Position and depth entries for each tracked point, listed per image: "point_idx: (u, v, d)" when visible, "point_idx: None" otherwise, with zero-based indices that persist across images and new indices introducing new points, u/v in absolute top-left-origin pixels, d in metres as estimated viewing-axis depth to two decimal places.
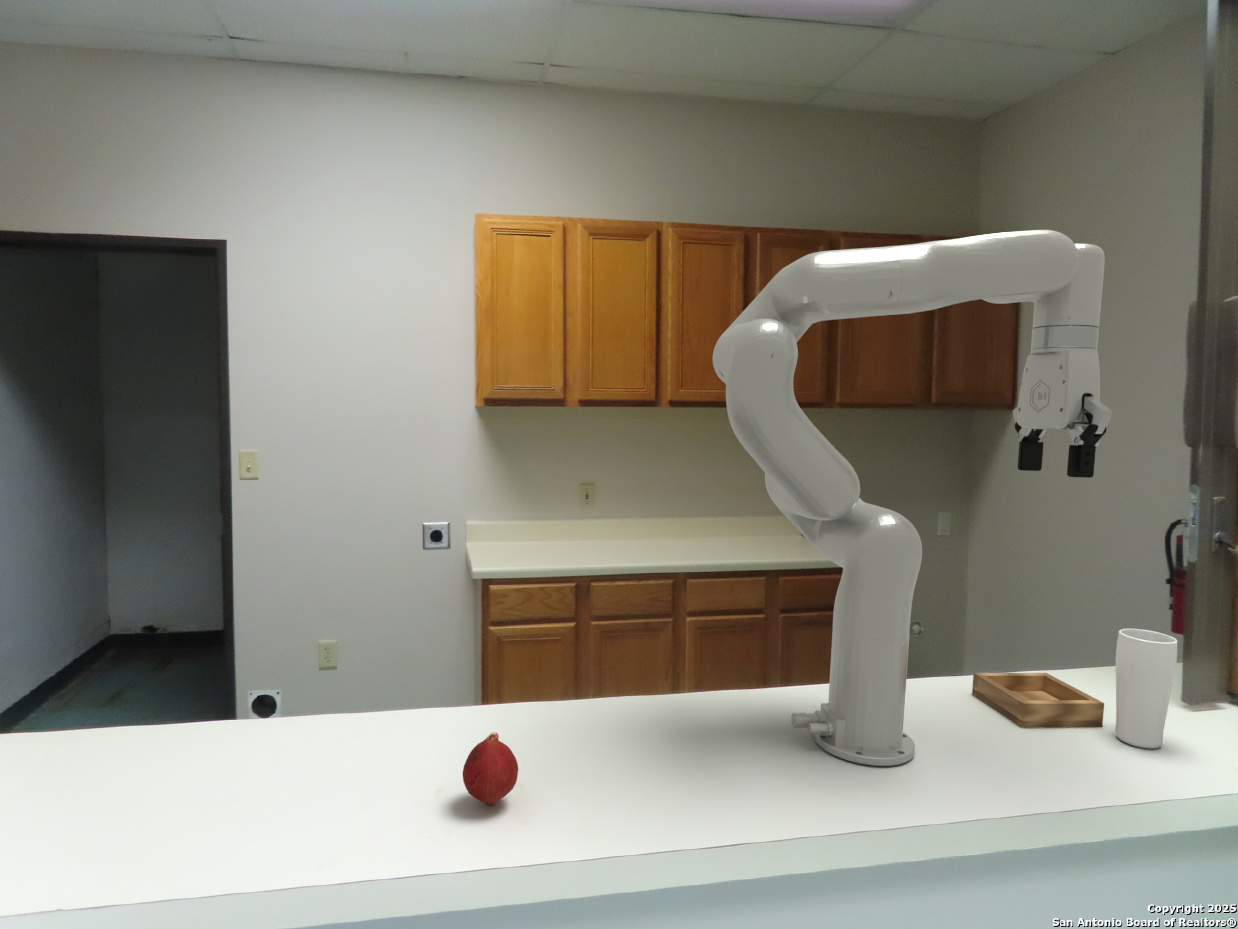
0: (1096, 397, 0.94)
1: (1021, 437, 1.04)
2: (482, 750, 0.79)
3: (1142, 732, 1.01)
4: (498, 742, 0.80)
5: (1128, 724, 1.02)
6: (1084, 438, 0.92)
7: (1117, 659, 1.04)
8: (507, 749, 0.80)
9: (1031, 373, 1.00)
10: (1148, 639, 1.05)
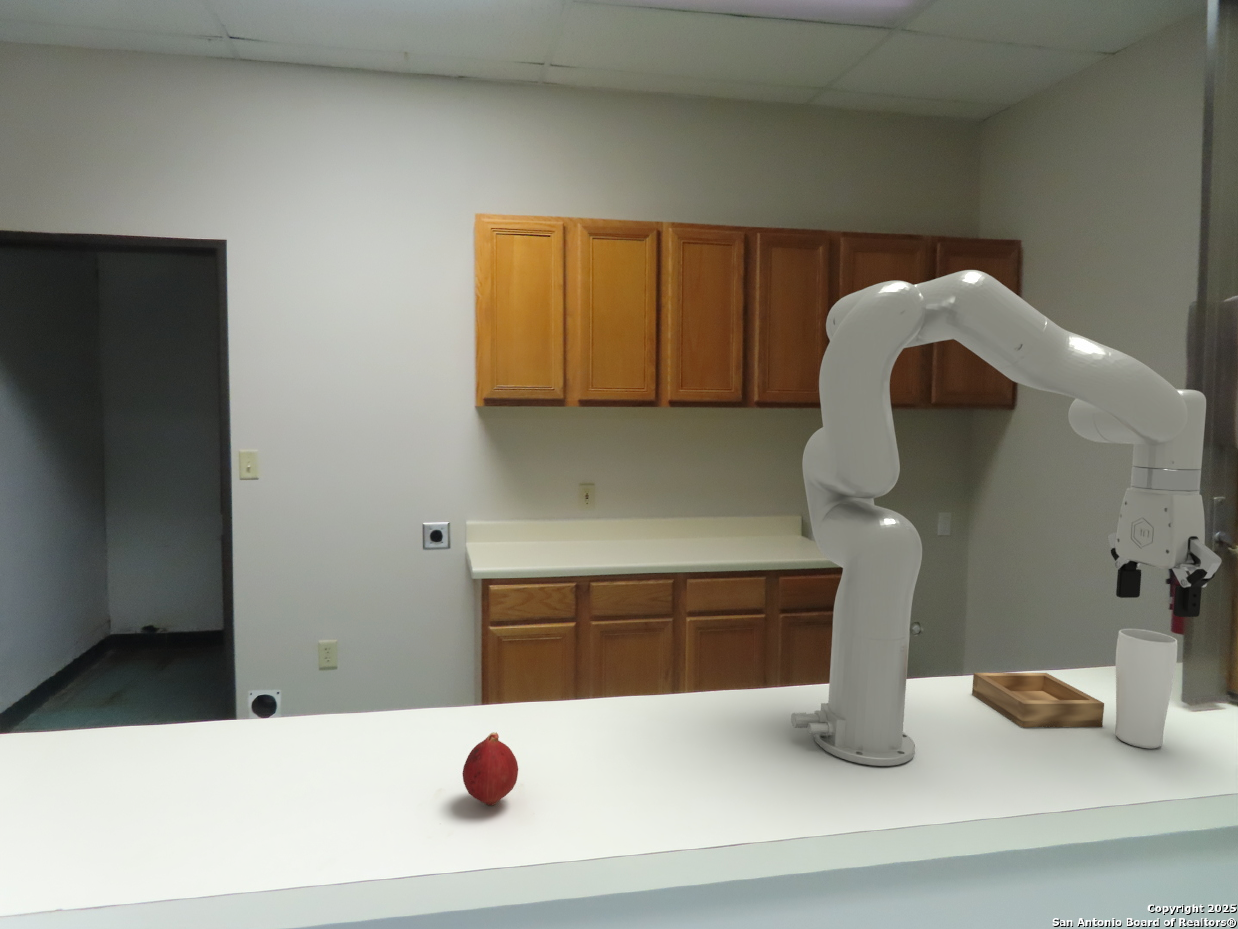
0: (1201, 539, 0.97)
1: (1119, 565, 1.07)
2: (482, 750, 0.79)
3: (1142, 732, 1.01)
4: (498, 742, 0.80)
5: (1128, 724, 1.02)
6: (1192, 581, 0.96)
7: (1117, 659, 1.04)
8: (507, 749, 0.80)
9: (1131, 508, 1.03)
10: (1148, 639, 1.05)
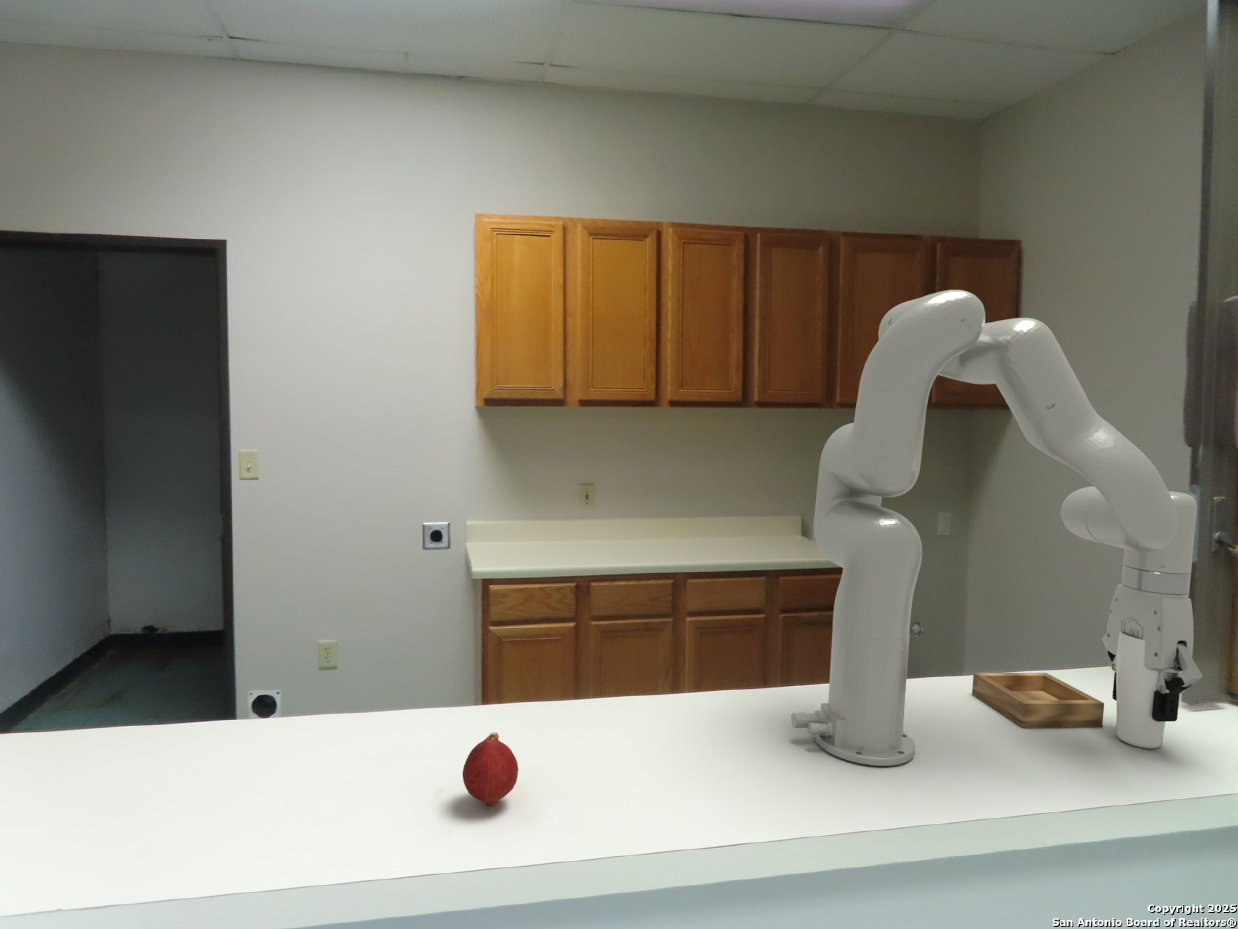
0: (1190, 644, 0.98)
1: None
2: (482, 750, 0.79)
3: (1142, 732, 1.01)
4: (498, 742, 0.80)
5: (1128, 724, 1.02)
6: (1170, 688, 0.98)
7: (1117, 659, 1.03)
8: (507, 749, 0.80)
9: (1122, 606, 1.04)
10: None
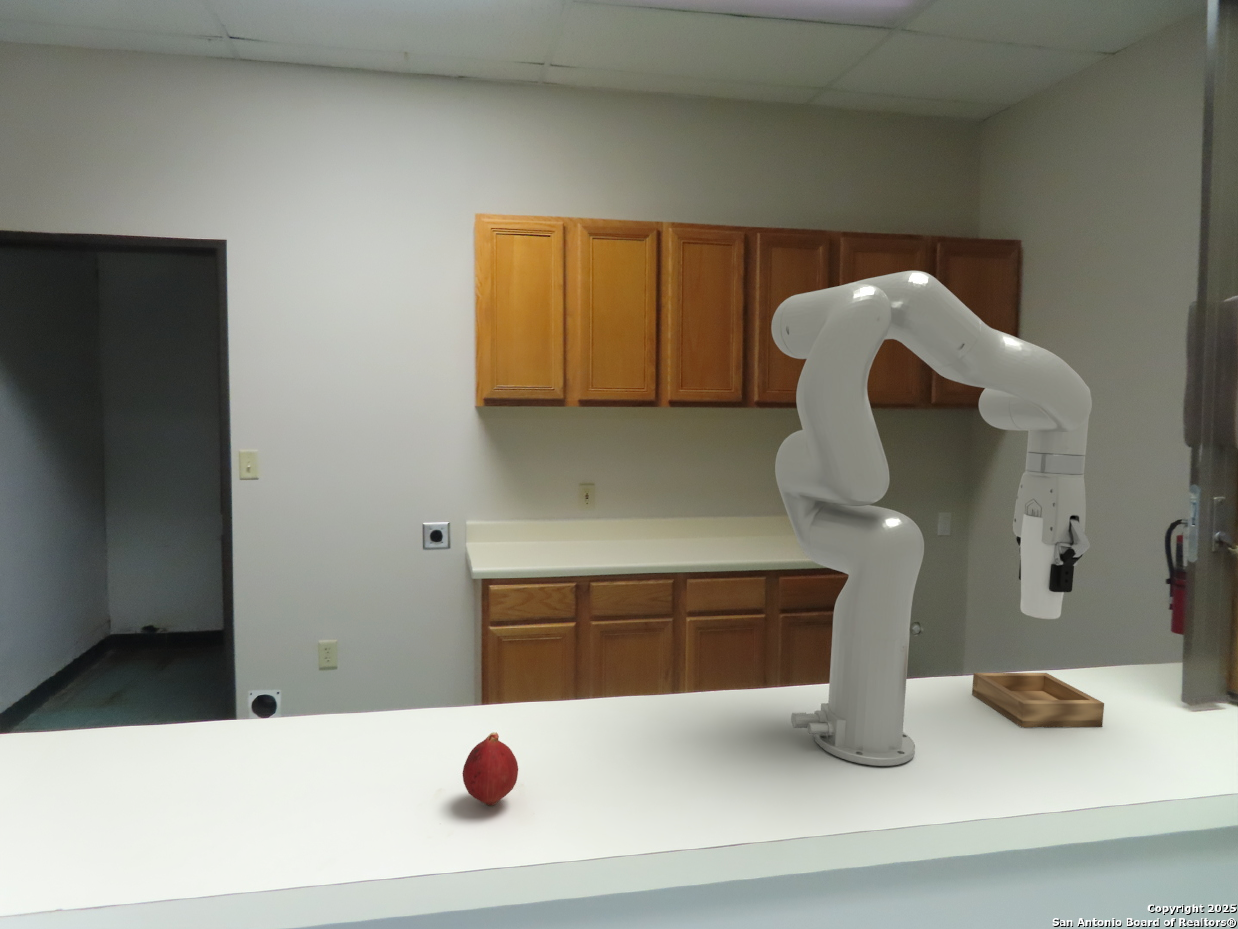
0: (1082, 518, 1.06)
1: None
2: (482, 750, 0.79)
3: (1041, 603, 1.10)
4: (498, 742, 0.80)
5: (1029, 597, 1.11)
6: (1064, 560, 1.07)
7: (1021, 539, 1.12)
8: (507, 749, 0.80)
9: (1025, 490, 1.13)
10: None
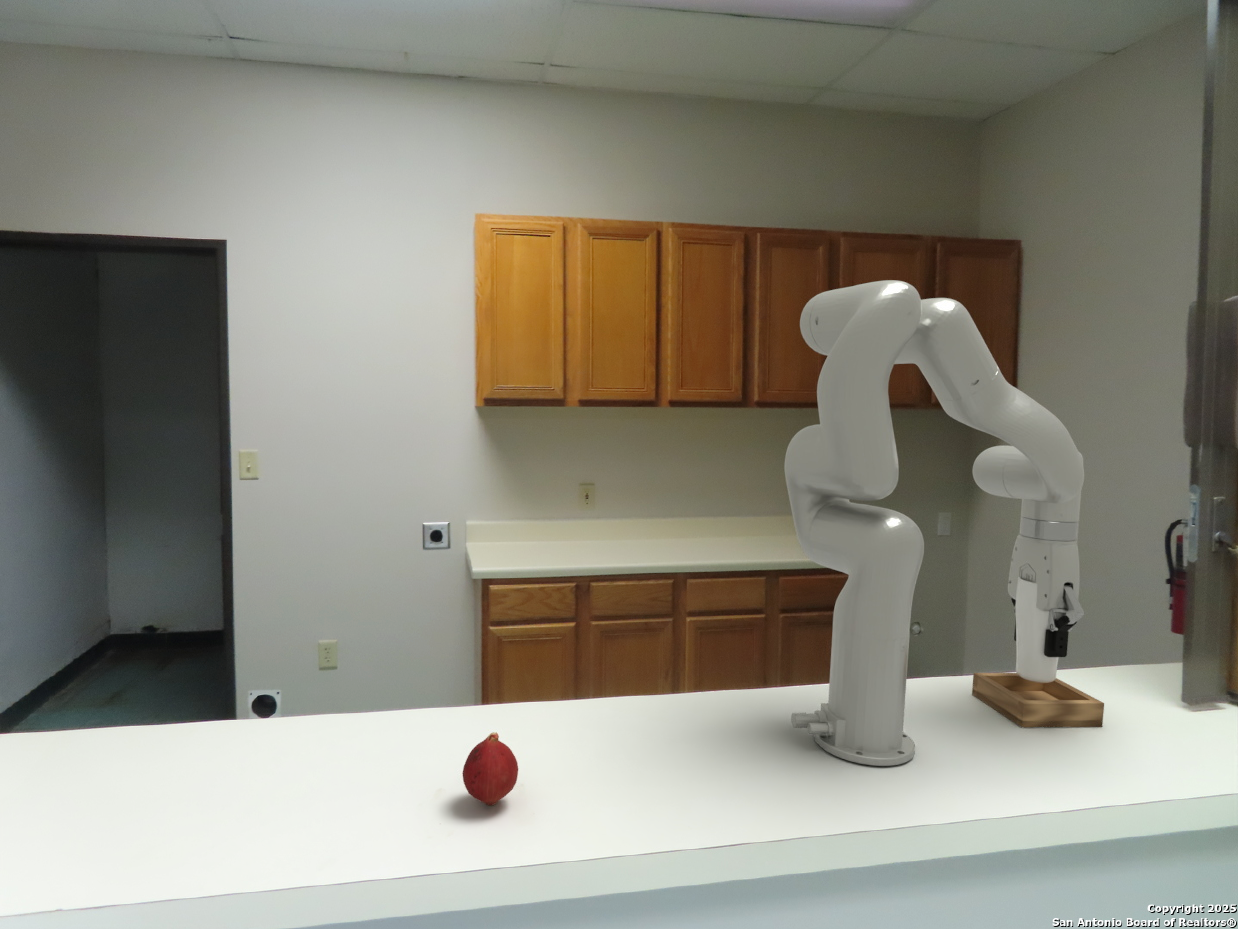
0: (1076, 585, 1.07)
1: None
2: (482, 750, 0.79)
3: (1037, 668, 1.11)
4: (498, 742, 0.80)
5: (1025, 661, 1.12)
6: (1058, 626, 1.08)
7: (1016, 602, 1.13)
8: (507, 749, 0.80)
9: (1020, 554, 1.14)
10: None
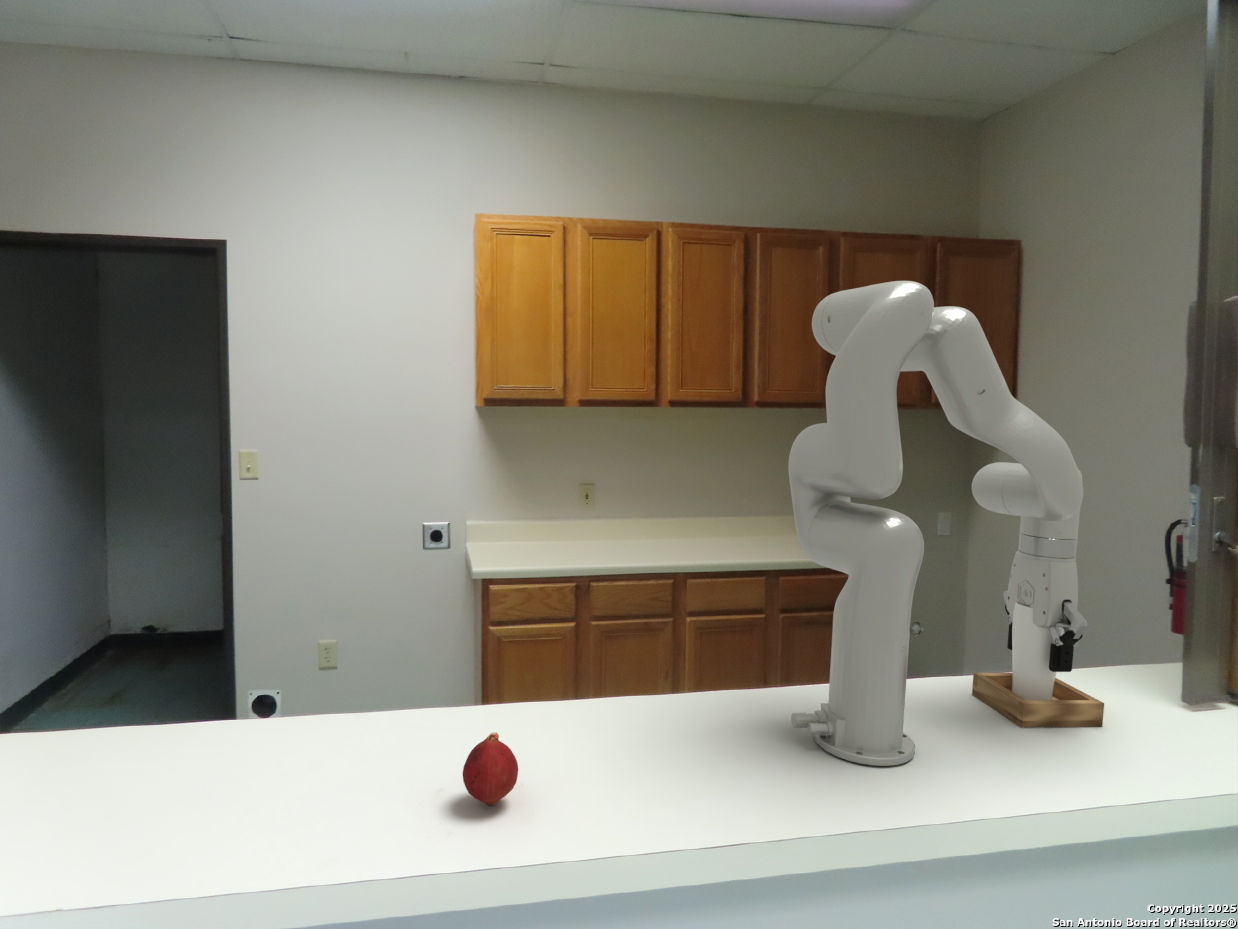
0: (1074, 602, 1.07)
1: (1010, 620, 1.18)
2: (482, 750, 0.79)
3: (1032, 692, 1.11)
4: (498, 742, 0.80)
5: (1020, 685, 1.12)
6: (1064, 640, 1.06)
7: (1012, 627, 1.14)
8: (507, 749, 0.80)
9: (1018, 570, 1.14)
10: None
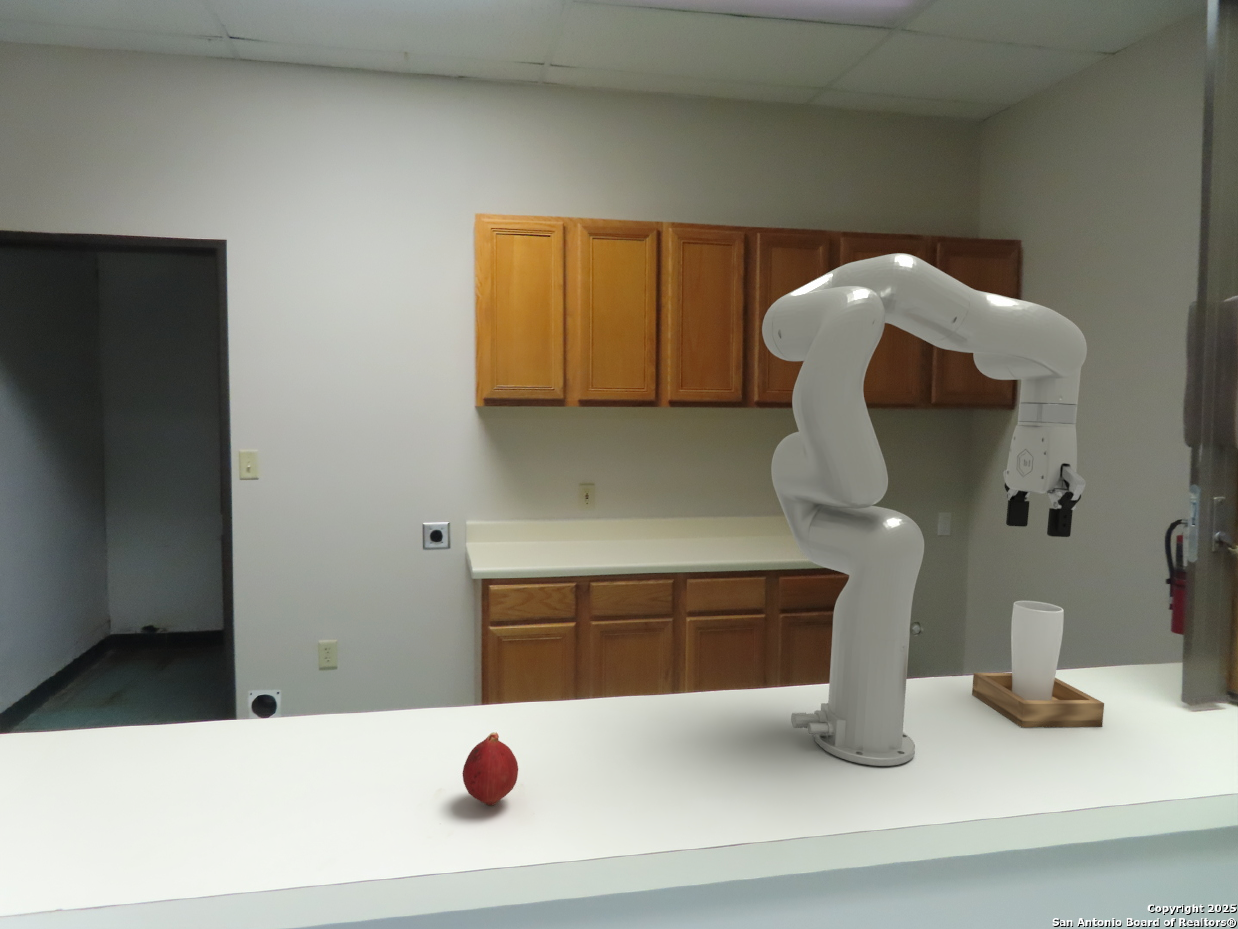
0: (1073, 467, 1.07)
1: (1009, 496, 1.17)
2: (482, 750, 0.79)
3: (1031, 693, 1.11)
4: (498, 742, 0.80)
5: (1020, 686, 1.12)
6: (1062, 503, 1.06)
7: (1011, 628, 1.14)
8: (507, 749, 0.80)
9: (1018, 442, 1.13)
10: (1042, 610, 1.15)
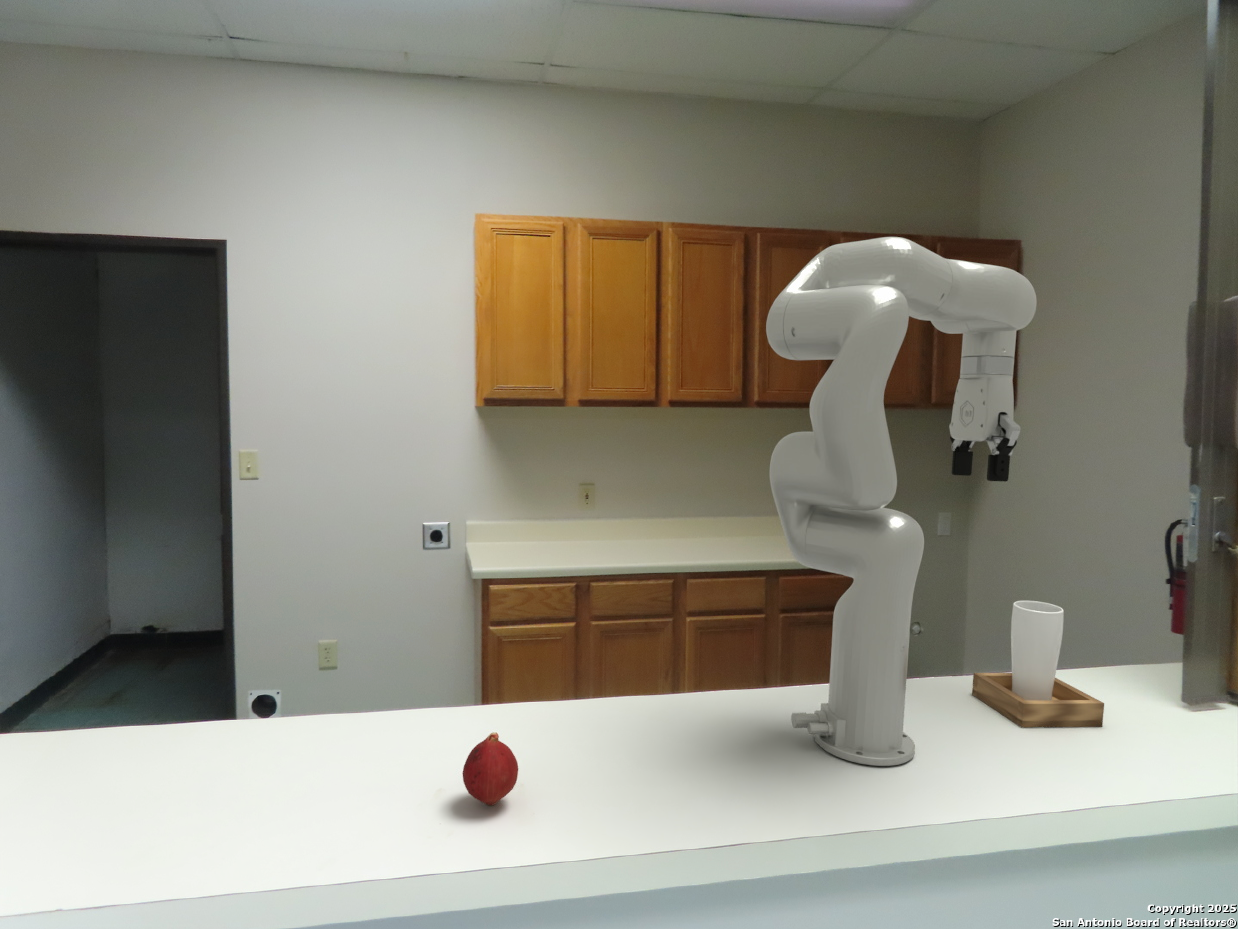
0: (1010, 415, 1.14)
1: (954, 447, 1.24)
2: (482, 750, 0.79)
3: (1031, 694, 1.11)
4: (498, 742, 0.80)
5: (1020, 687, 1.12)
6: (1000, 449, 1.13)
7: (1011, 628, 1.13)
8: (507, 749, 0.80)
9: (960, 394, 1.20)
10: (1042, 610, 1.14)
